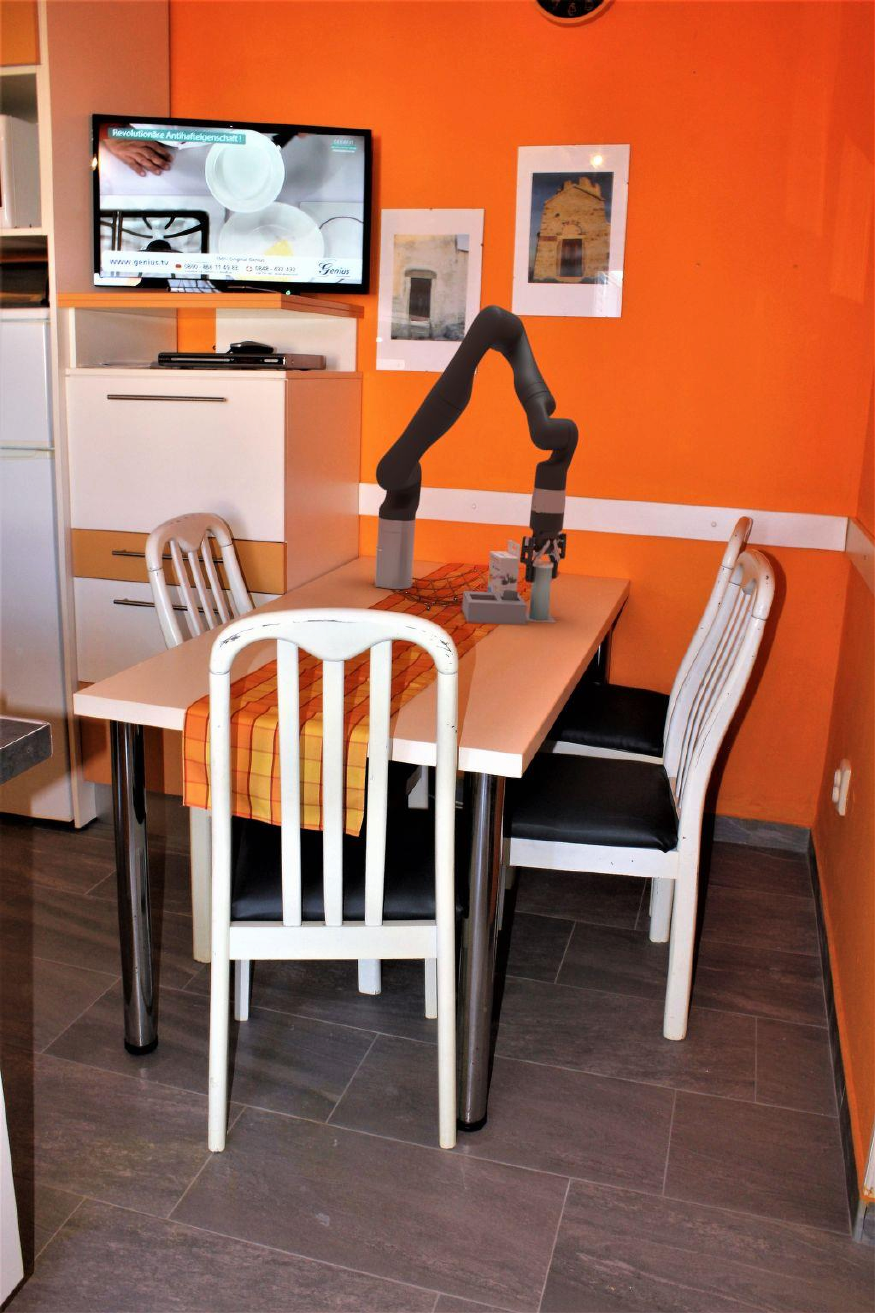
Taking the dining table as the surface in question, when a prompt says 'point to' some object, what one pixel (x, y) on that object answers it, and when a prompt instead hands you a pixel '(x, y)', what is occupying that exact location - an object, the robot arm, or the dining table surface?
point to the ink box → (504, 569)
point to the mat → (540, 620)
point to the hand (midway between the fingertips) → (540, 580)
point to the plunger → (510, 595)
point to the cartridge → (541, 591)
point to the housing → (493, 608)
